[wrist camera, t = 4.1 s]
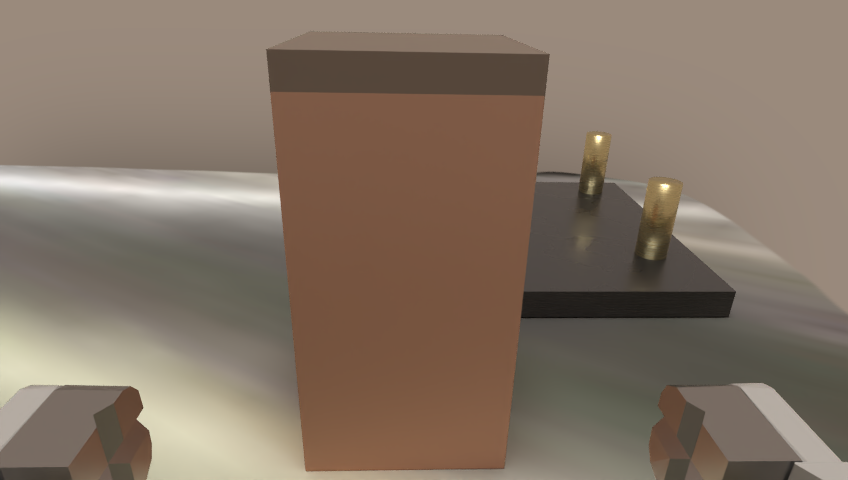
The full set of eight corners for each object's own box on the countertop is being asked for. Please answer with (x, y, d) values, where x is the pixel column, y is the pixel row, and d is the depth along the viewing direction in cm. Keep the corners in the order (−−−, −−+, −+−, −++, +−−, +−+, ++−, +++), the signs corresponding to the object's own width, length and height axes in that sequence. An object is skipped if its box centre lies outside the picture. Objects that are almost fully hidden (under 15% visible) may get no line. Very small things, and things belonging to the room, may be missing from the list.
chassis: (317, 317, 22) (310, 208, 20) (348, 198, 35) (345, 125, 33) (728, 316, 23) (759, 211, 21) (611, 200, 35) (623, 128, 34)
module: (305, 471, 15) (266, 48, 10) (330, 351, 20) (310, 31, 15) (504, 468, 15) (549, 54, 11) (479, 350, 20) (502, 35, 16)
